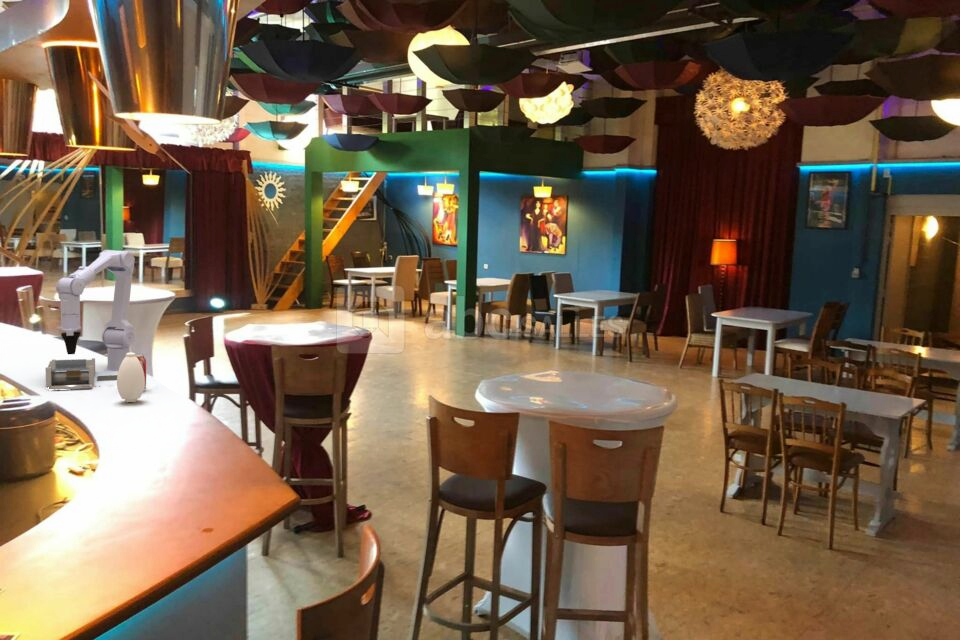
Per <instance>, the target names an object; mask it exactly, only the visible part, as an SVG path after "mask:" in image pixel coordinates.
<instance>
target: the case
mask: <svg viewBox="0 0 960 640" xmlns="http://www.w3.org/2000/svg"><path fill="white" fill-rule="evenodd" d="M55 360H56V359H52V360H51V361H55ZM91 360H95V362H94V366H89V370H81V375H80V376H66V371H51V367H48V366H46V367H45V388H46V387H47V388H48V387H49V386H53V385H54V384H76V383H77V384H78V383H80V384H81V383H88V384H92V385H93V388H95V376H96V357H95V358H91Z"/></svg>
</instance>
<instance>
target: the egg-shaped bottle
mask: <svg viewBox="0 0 960 640" xmlns="http://www.w3.org/2000/svg"><path fill="white" fill-rule="evenodd" d="M129 349H130V353H127V354H126V357H125V358H124V359H123V361H122V363H121V365H120V368H119V371H117V380H116V386H117V392H118V395H119V396H120V398H121V399H122V400H124V401H125V402H127V403H128V402H134V403H135V402H137V401H138V400H139V399H140V398H141V397H142V395H143V394H144V392H145V389H144V387H145V376H144V371H143V368H142V366H141V363H140V361H139V360H138V358H137V357H136V356H135V353H136V352H132V351H133V350H132V345H130V347H129Z"/></svg>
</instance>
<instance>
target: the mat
mask: <svg viewBox="0 0 960 640" xmlns="http://www.w3.org/2000/svg"><path fill="white" fill-rule="evenodd" d="M117 375H118V374H117ZM117 375H115V374H114V375H113V374H112V375H111V374H110V375H97V377H96V382H106V381H107V382H108V381H113V382H114V381H117Z"/></svg>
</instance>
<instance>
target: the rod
mask: <svg viewBox="0 0 960 640" xmlns="http://www.w3.org/2000/svg"><path fill="white" fill-rule="evenodd" d="M49 389H80V390H92V389H94V387H93V385H92V384H89V383H88V384H87V383H86V384H85V383H84V384H64V385H62V384H61V385H51V386H49ZM49 389H48V390H49Z"/></svg>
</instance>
